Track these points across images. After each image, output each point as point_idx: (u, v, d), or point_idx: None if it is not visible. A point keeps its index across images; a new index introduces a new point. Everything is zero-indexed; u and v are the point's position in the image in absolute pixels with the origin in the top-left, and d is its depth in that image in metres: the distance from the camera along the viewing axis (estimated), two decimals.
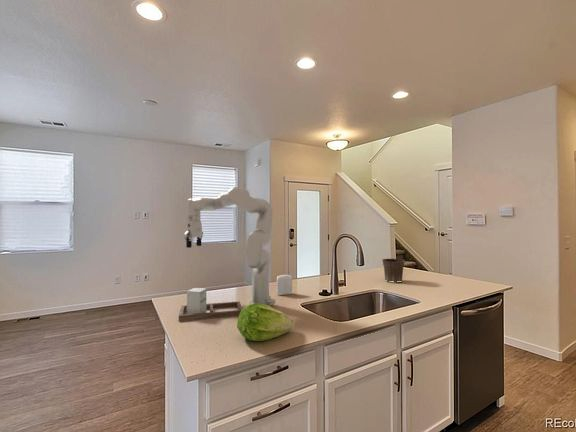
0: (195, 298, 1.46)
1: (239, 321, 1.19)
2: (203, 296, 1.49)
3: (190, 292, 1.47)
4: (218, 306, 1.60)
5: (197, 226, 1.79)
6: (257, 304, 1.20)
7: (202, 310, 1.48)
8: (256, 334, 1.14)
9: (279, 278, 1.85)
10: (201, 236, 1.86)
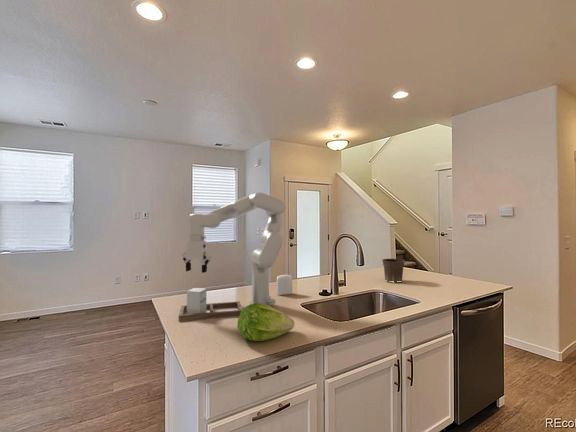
0: (195, 298, 1.46)
1: (239, 321, 1.19)
2: (203, 296, 1.49)
3: (190, 292, 1.47)
4: (218, 306, 1.60)
5: None
6: (258, 304, 1.20)
7: (202, 310, 1.48)
8: (257, 334, 1.14)
9: (279, 278, 1.85)
10: (186, 259, 1.53)
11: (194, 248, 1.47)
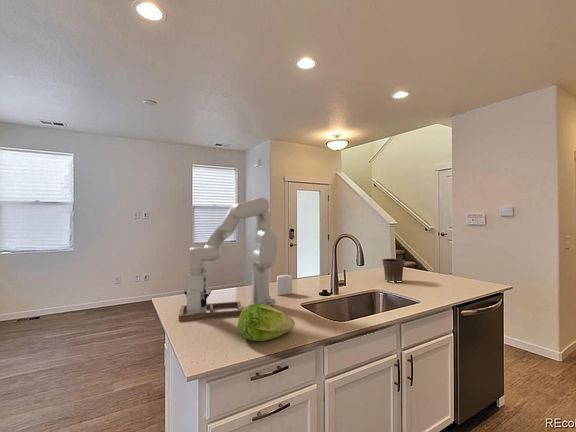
0: (195, 298, 1.46)
1: (240, 321, 1.19)
2: None
3: (190, 292, 1.47)
4: (218, 306, 1.60)
5: None
6: (258, 304, 1.20)
7: (202, 310, 1.48)
8: (258, 334, 1.14)
9: (279, 278, 1.85)
10: None
11: (194, 282, 1.48)
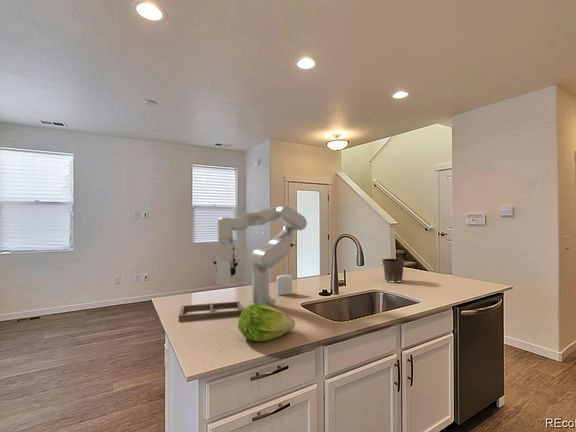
0: (225, 266, 1.50)
1: (240, 321, 1.19)
2: None
3: (220, 261, 1.51)
4: (218, 306, 1.60)
5: None
6: (259, 304, 1.20)
7: (231, 278, 1.52)
8: (259, 334, 1.14)
9: (279, 278, 1.85)
10: None
11: (224, 251, 1.51)
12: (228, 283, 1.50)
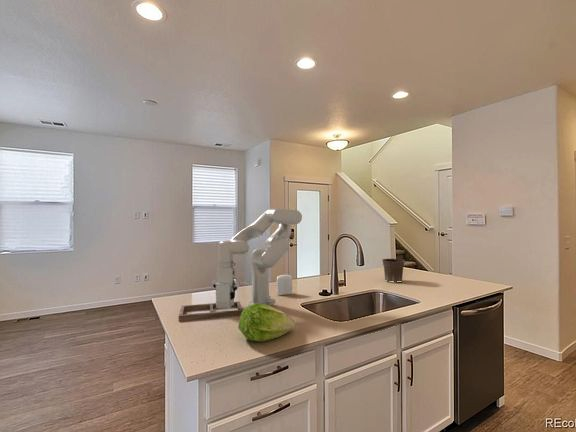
0: (224, 290, 1.50)
1: (241, 322, 1.18)
2: None
3: (219, 284, 1.51)
4: None
5: None
6: (259, 304, 1.20)
7: (230, 302, 1.52)
8: (259, 334, 1.14)
9: (279, 278, 1.85)
10: None
11: (224, 275, 1.51)
12: (227, 307, 1.50)
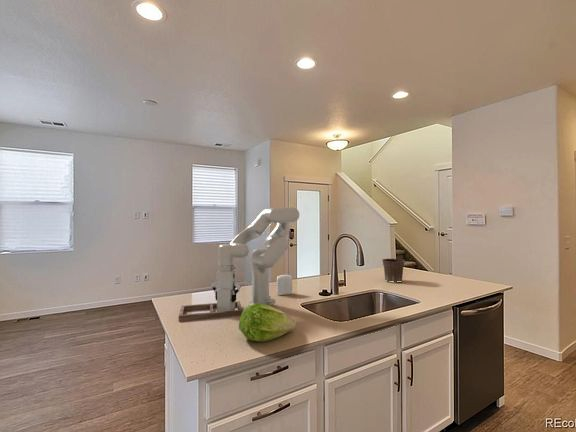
0: (225, 296, 1.50)
1: (241, 322, 1.18)
2: None
3: (220, 290, 1.51)
4: None
5: None
6: (259, 304, 1.20)
7: (231, 308, 1.52)
8: (260, 334, 1.14)
9: (279, 278, 1.85)
10: (216, 288, 1.57)
11: (224, 278, 1.51)
12: None
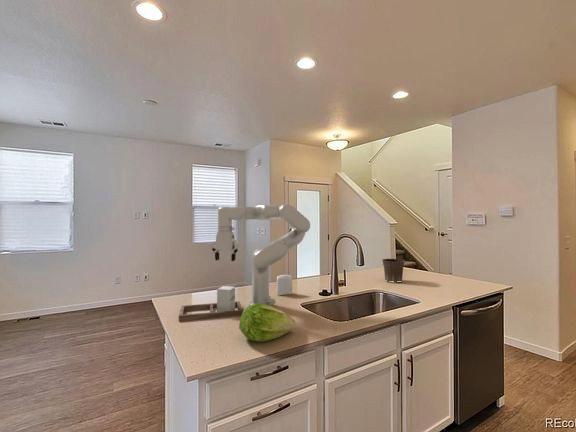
0: (225, 296, 1.50)
1: (242, 322, 1.18)
2: (232, 294, 1.53)
3: (220, 290, 1.51)
4: None
5: None
6: (260, 304, 1.20)
7: (231, 308, 1.52)
8: (260, 334, 1.13)
9: (279, 278, 1.85)
10: None
11: (224, 239, 1.60)
12: None
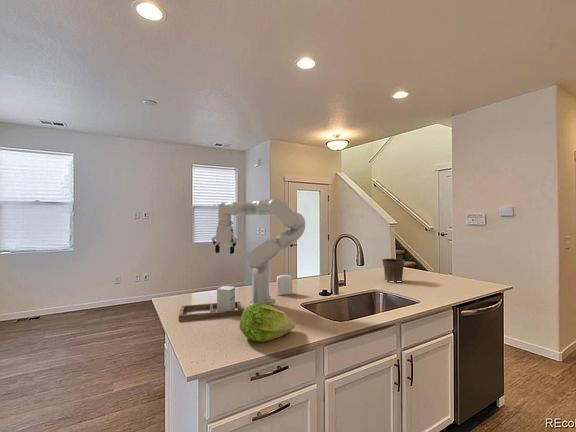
0: (225, 296, 1.50)
1: (242, 322, 1.18)
2: (232, 294, 1.53)
3: (220, 290, 1.51)
4: None
5: None
6: (260, 304, 1.20)
7: (231, 308, 1.52)
8: (261, 334, 1.13)
9: (279, 278, 1.85)
10: None
11: (223, 232, 1.68)
12: None
